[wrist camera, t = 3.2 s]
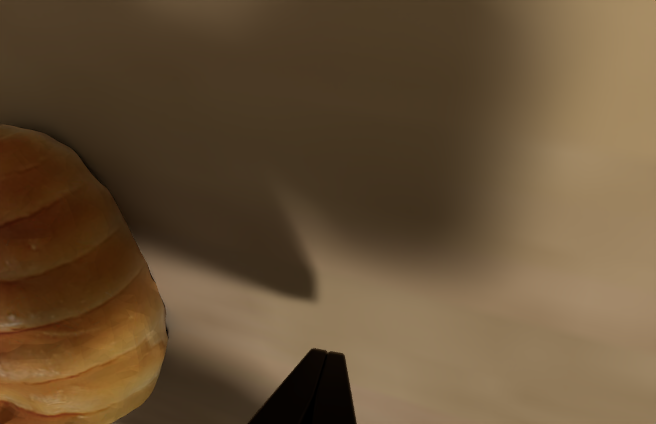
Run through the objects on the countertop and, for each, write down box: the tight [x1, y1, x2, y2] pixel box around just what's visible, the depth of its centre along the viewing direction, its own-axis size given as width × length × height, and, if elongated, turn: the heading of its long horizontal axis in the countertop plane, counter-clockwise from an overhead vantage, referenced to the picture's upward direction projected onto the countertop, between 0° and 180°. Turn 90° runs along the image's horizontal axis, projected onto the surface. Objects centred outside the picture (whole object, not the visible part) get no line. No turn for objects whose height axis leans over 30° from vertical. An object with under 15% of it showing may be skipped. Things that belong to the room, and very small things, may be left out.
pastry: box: [0, 124, 169, 424], centre depth 11 cm, size 9×7×4 cm
